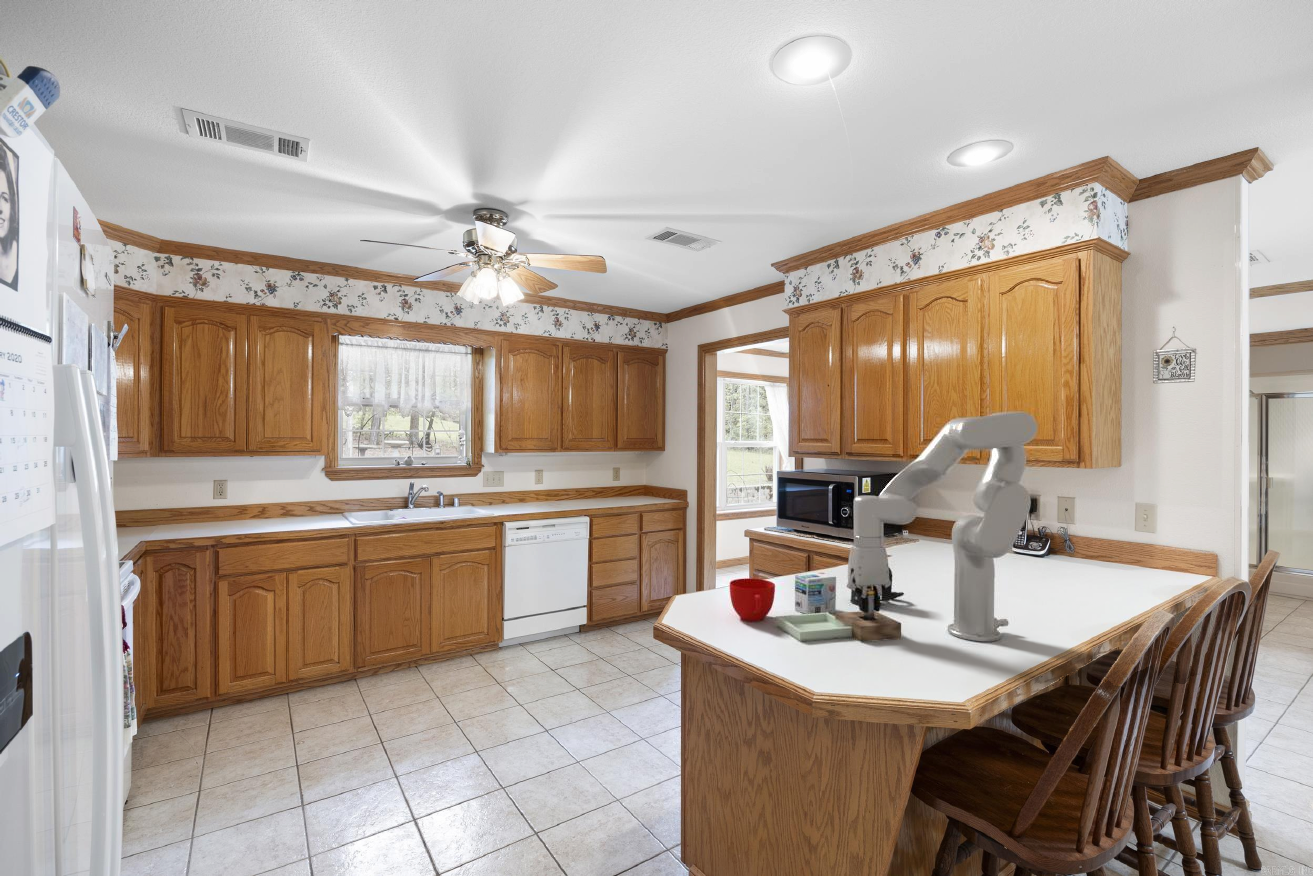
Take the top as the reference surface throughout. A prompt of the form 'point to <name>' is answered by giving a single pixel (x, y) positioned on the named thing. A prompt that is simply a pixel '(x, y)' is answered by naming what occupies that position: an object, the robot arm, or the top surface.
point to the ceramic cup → (752, 598)
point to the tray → (813, 626)
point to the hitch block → (870, 626)
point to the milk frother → (886, 594)
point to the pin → (870, 605)
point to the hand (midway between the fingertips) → (869, 610)
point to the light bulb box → (815, 593)
